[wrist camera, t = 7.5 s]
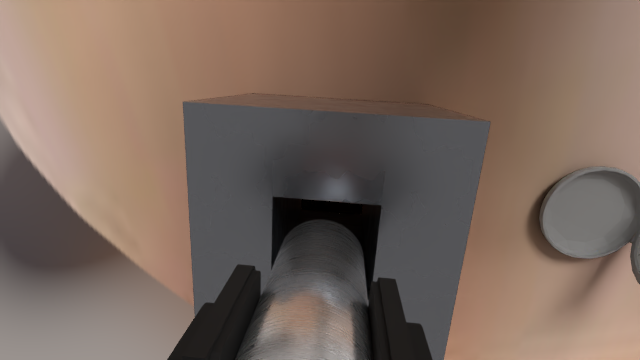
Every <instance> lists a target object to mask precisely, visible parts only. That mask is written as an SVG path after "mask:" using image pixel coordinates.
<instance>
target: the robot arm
mask: <svg viewBox="0 0 640 360" xmlns="http://www.w3.org/2000/svg"><path fill="white" fill-rule="evenodd" d="M260 297H261V272H260V271H257V270H256V269H255V266H251V265H241V264H238V265H237V266H236V268H235V269H234V271H233V272H232V274H231V276H230V277H229V279H228V281H227V282H226V284H225V286H224V287H223V289H222V291H221V292H220V294H219V295H218V297H217V299H216V300H215V302H214V303H210V302H206V303H204V305H203V306H202V307H201V309H200V310H199V312H198V313H197V315H196V316H195V318H194V319H193V321H192V322H191V324H190V326H189V327H188V329H187V330H186V332H185V333H184V335H183V336H182V338H181V339H180V341H179V342H178V344H177V345H176V347H175V349H174V350H173V352H172V353H171V355H170V356H169V358H168V359H167V360H235V358H236V356H237V353H238V351H239V348H240V346H241V343H242V341H243V338H244V336H245V334H246V331H247V329H248V326H249V324H250V321H251V319H252V316H253V314H254V312H255V309H256V307H257V304H258V302H259V299H260ZM368 311H369V322H370V332H371V343H372V354H373V360H433V359H432V356H431V353H430V350H429V346H428V343H427V340H426V337H425V333H424V330H423V327H422V325H421V324H419V323H409V322H406V319H405V315H404V311H403V307H402V303H401V299H400V295H399V291H398V287H397V283H396V279H391V278H381V277H378V280H377V282H375V281H372V282H371V287H370V296H369V305H368Z"/></svg>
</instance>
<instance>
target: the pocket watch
mask: <svg viewBox="0 0 640 360" xmlns="http://www.w3.org/2000/svg"><path fill="white" fill-rule="evenodd" d="M539 221H540V226H541V231H542V233H543V235H544V236H545V238H546V240H547V241H548V242H549V243H550V244H551V245H552V247H554V248H555V249H557V250H558V251H560V252H561V253H563V254H566V255H568V256H571V257H576V258H585V259H591V258H597V257H602V256H605V255H608V254H610V253H613V252H615V251H617V250H619V249H620V248H622V247H623V246H624V245H626V244H627V243H629V242H630V243H632V247H631V255H630V258H631V265H632V271H633V273H634V275H635V277H636V280H637V282H638V283H639V284H640V182H639V181H638V180H637V179H636V178H635V177H634V176H632V175H630V174H628V173H626V172H625V171H623V170H620V169H617V168H612V167H604V166H600V167H588V168H585V169H581V170H578V171H575V172H573V173H571V174H569V175H567V176H566V177H564V178H562V179H561V180H560V181H559V182H558V183H556V184H555V185H554V186H553V187H552V189H551V190H550V191H549V192H548V194H547V195H546V197H545V199H544V201H543V203H542V206H541V209H540V217H539Z"/></svg>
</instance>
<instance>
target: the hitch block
mask: <svg viewBox="0 0 640 360" xmlns="http://www.w3.org/2000/svg"><path fill="white" fill-rule="evenodd" d="M183 113H184V131H185V149H186V167H187V185H188V203H189V221H190V239H191V256H192V274H193V292H194V310H195V316H196V315H197V313H198V312H199V310H200V309H201V307H202V306H203V305H204V303H206V302H210V303H214V302H215V300H216V299H217V297H218V295H219V294H220V292H221V291H222V289H223V287H224V286H225V284H226V282H227V281H228V279H229V277H230V276H231V274H232V272H233V271H234V269H235V268H236V266H237V265H238V264H241V265H251V266H255V269H256V270H257V271H260V272H261V294H262V292H263V289H264V287H265V285H266V282H267V280H268V277H269V275H270V272H271V270H272V267H273V265H274V262H275V260H276V258H277V255H278V253H279V250H280V248H281V245H282V243H283V240H284V239H285V237H286V236H287V234H288V233H289V232H290V231H291V230H292V229H293V228H294V227H296V226H297V225H299V224H301V223H303V222H306V221H310V220H316V219H325V220H331V221H334V222H337V223H339V224H341V225H343V226H345V227H346V228H348V229H349V230H350V231H351V232H352V233H353V234H354V235H355V236H356V237H357V239H358V240H359V242H360V244H361V247H362V250H363V256H364V267H365V277H366V288H367V299H368V305H369V296H370V287H371V282H372V281H375V282H377V280H378V277H381V278H391V279H396V283H397V287H398V291H399V295H400V299H401V303H402V307H403V311H404V315H405V319H406V322H409V323H419V324H421V325H422V327H423V330H424V333H425V337H426V340H427V343H428V346H429V350H430V353H431V356H432V359H433V360H444V355H445V350H446V345H447V340H448V335H449V330H450V325H451V320H452V315H453V310H454V304H455V299H456V294H457V289H458V284H459V279H460V274H461V269H462V264H463V259H464V254H465V249H466V244H467V239H468V234H469V229H470V223H471V218H472V213H473V208H474V203H475V198H476V193H477V188H478V183H479V178H480V173H481V168H482V163H483V158H484V153H485V148H486V142H487V137H488V132H489V127H490V121H486V120H483V119H479V118H475V117H472V116H468V115H465V114H461V113H457V112H454V111H450V110H447V109H443V108H440V107H436V106H432V105H429V104H414V103H398V102H382V101H366V100H350V99H334V98H318V97H302V96H286V95H270V94H254V93H252V94H244V95H235V96H227V97H219V98H210V99H202V100H194V101H185V102H183ZM301 199H310V200H322V201H334V202H347V203H359V204H363V208H362V214H350V213H338V212H326V211H314V210H302V209H301Z"/></svg>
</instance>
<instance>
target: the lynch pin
mask: <svg viewBox="0 0 640 360" xmlns="http://www.w3.org/2000/svg"><path fill="white" fill-rule="evenodd" d="M235 360H373V354H372V343H371V332H370V322H369V311H368V299H367V288H366V277H365V267H364V256H363V250H362V247H361V244H360V242H359V240H358V239H357V237H356V236H355V235H354V234H353V233H352V232H351V231H350V230H349V229H348V228H346V227H345V226H343V225H341V224H339V223H337V222H334V221H331V220H325V219H316V220H310V221H306V222H303V223H301V224H299V225H297V226H296V227H294V228H293V229H292V230H291V231H290V232H289V233H288V234H287V236H286V237H285V239H284V240H283V243H282V245H281V248H280V250H279V253H278V255H277V258H276V260H275V262H274V265H273V267H272V270H271V272H270V275H269V277H268V280H267V282H266V285H265V287H264V289H263V292H262V294H261V297H260V299H259V302H258V304H257V307H256V309H255V312H254V314H253V316H252V319H251V321H250V324H249V326H248V329H247V331H246V334H245V336H244V338H243V341H242V343H241V346H240V348H239V351H238V353H237V356H236V358H235Z"/></svg>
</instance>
